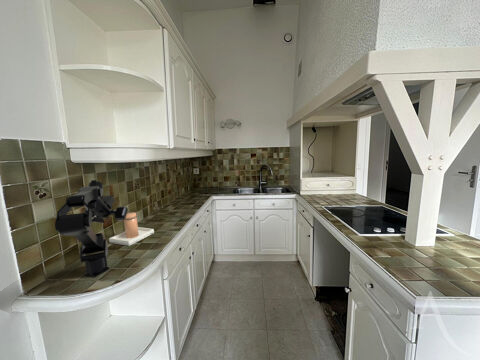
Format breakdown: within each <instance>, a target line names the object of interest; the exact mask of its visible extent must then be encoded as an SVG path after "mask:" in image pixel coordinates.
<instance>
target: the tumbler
mask: <svg viewBox="0 0 480 360" xmlns="http://www.w3.org/2000/svg"><path fill="white" fill-rule="evenodd" d="M123 223H124V232H125V231H126V238H134V237H137V236H138V235H139V232H138V227H139V226H138V217H137V212H135V211H133V212H127V214H126V218H125V219H124V220H123Z"/></svg>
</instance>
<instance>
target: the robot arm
mask: <svg viewBox="0 0 480 360" xmlns="http://www.w3.org/2000/svg"><path fill="white" fill-rule="evenodd" d="M115 202H116V201H115V198H114V196H113V195H104V183H102V182H100V181H97V179H92V180H91V182H88V184H87V186H81V187H80V188H79V189H78V190H77V192H76V193H75V194H72V195H70V196H67V197H66V200H65V203H64V205H63V206H61V208H60V209H58V211H57V213H56V217H55V221H54V228H55V231H56V232H58V234H59V235H62V236H64V237H65V236H67V237H70V236H71V237H74V238H75V239H76V240H77V241H78V242H79V243H81V246H80V247H79V248H80V250H79V259H80V263H84V265H85V272H84V273H83V275H84V276H88V277H92V278H96V277H98V276H99V275H101V274H104V273H105V272H106V271H108V270H109V269H111V268H110V267H109V266H108V265H109V264H108V258H107V257H108V253H109V247H108V245H109V244H108V239H107V238H106V237H105V235H104V233H102V232H97V233H95V232H94V231H93V229H92V228H91V227H92V224H93V223H100V224H105V221H106V220H105V219H108V218H109V216H114V219H115V220H116V221H117V222H121V223H124V219H125V218H126V214H127V213H128V211H129V209H128V207H127V206H125V205H123V206H118V207H116V209H113V204H114V203H115ZM81 207H84V208H85V210H84V212H79V213H72V214H69V213H70V211H71V210H72V208H81Z"/></svg>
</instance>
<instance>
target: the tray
mask: <svg viewBox="0 0 480 360" xmlns="http://www.w3.org/2000/svg"><path fill="white" fill-rule="evenodd" d="M138 232H139V235H138V236H137V237H134V238H126V231H125V230H124V231H123V232H121V233H119V234H116V235H114V236H111V237H109V238H108V242H109V243H110V244H115V245H121V246H127V247H128V246H131V245H134V244H136V243H138V242H139V241H141V240H143V239H145V238H147V237H149V236H151V235H153V234H155V230H154V228H148V227H142V226H141V227H139V226H138Z"/></svg>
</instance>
